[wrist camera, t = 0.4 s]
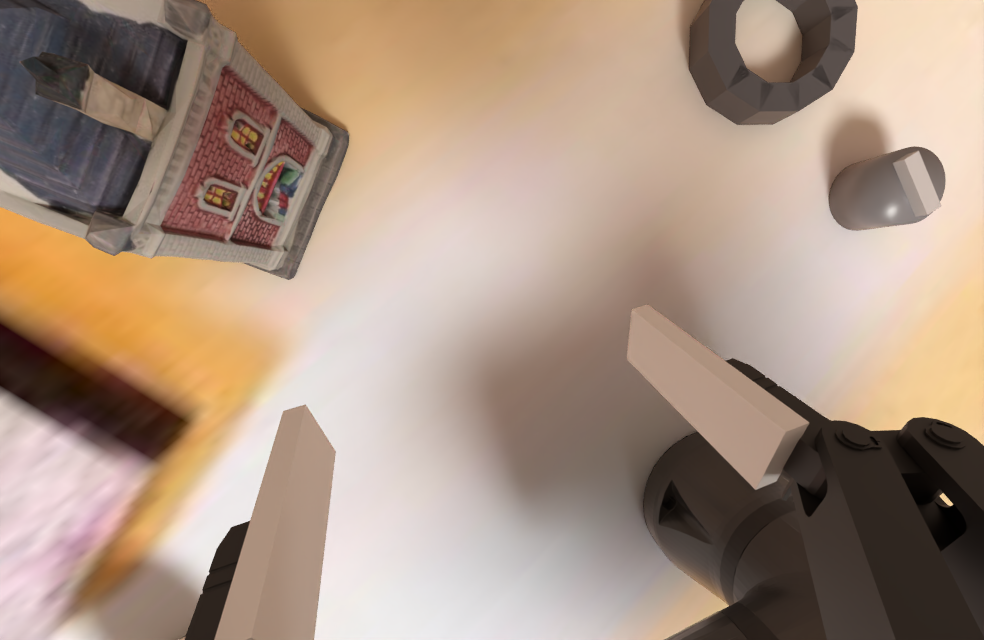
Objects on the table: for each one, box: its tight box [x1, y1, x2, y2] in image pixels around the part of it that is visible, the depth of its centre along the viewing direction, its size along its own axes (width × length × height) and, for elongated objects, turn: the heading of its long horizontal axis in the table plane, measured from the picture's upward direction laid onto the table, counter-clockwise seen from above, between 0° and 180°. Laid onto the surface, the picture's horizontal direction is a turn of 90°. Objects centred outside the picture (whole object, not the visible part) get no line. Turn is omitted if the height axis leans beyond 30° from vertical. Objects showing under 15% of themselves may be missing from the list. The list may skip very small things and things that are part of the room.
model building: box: [0, 0, 349, 280], centre depth 20 cm, size 19×14×20 cm
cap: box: [829, 147, 945, 231], centre depth 31 cm, size 6×6×5 cm
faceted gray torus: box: [689, 0, 858, 125], centre depth 30 cm, size 13×13×2 cm
